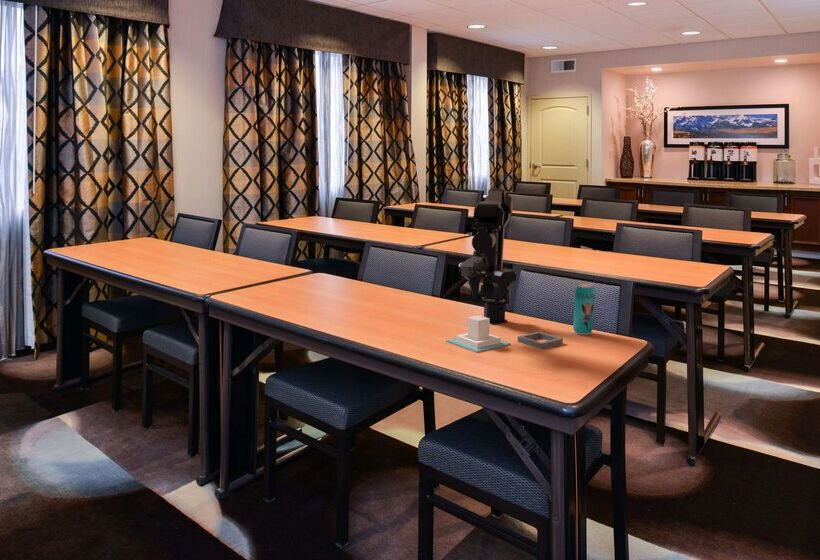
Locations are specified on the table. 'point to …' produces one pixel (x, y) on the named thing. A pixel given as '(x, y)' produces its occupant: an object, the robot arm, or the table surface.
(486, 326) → the plug block
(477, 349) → the socket
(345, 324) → the table surface
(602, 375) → the table surface
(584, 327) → the beverage can
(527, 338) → the socket
